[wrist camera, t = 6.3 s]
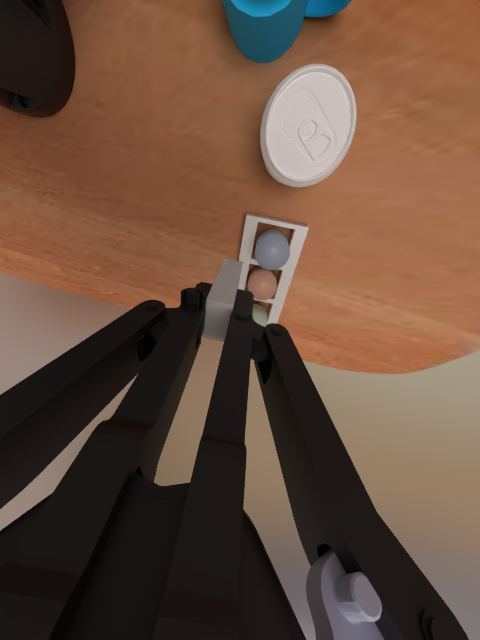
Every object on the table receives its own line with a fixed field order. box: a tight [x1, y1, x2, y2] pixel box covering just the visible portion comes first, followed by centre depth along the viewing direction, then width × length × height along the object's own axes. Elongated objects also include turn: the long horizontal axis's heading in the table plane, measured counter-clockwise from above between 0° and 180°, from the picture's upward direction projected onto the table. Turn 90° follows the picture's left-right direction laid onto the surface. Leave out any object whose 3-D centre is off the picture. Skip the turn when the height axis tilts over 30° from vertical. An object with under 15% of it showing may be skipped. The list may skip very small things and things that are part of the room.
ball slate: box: [255, 229, 290, 270], centre depth 30 cm, size 5×5×4 cm
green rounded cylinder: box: [252, 304, 267, 327], centre depth 37 cm, size 5×5×4 cm
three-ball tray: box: [238, 212, 309, 324], centre depth 36 cm, size 9×19×2 cm, turn 170°
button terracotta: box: [248, 266, 277, 300], centre depth 35 cm, size 5×5×4 cm
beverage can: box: [260, 64, 357, 187], centre depth 22 cm, size 8×8×12 cm
